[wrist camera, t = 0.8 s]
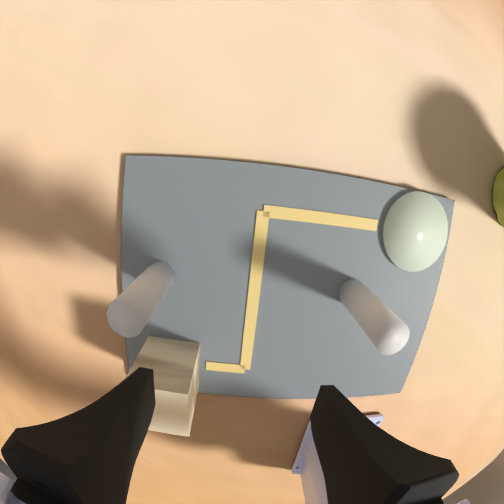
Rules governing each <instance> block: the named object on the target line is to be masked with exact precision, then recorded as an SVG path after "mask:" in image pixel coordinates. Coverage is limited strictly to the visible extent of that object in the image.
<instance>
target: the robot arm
mask: <svg viewBox="0 0 504 504" xmlns="http://www.w3.org/2000/svg"><path fill="white" fill-rule="evenodd" d="M155 404H156V401H155V388H154V373H153V369H149V368H144V367H139V368H138V369H136V370H135V371H134V372H133V373H132V374H130V375H129V376H128V377H127V378H126V379H125V380H123V381H122V382H121V383H120V384H119V385H117V386H116V387H115V388H113V389H112V390H111V391H110V392H108V393H107V394H105V395H104V396H102V397H101V398H100V399H98V400H97V401H95V402H93V403H92V404H90V405H88V406H87V407H85V408H83V409H81V410H79V411H77V412H75V413H73V414H70V415H68V416H65V417H63V418H60V419H57V420H54V421H51V422H48V423H44V424H40V425H35V426H30V427H23V428H16V429H15V431H14V432H13V433H12V434H11V436H10V437H9V438H8V440H7V441H6V443H5V444H4V446H3V447H2V449H1V452H2V456H3V458H4V460H5V461H6V463H7V464H8V466H9V467H10V468H11V470H12V471H13V473H14V474H15V475H16V477H17V480H16V482H15V483H14V482H13V481H12V480H11V479H9V478H8V477H7V476H5V475H4V474H2V473H0V504H126V499H127V494H128V489H129V485H130V480H131V476H132V472H133V468H134V464H135V461H136V458H137V456H138V453H139V451H140V448H141V446H142V443H143V441H144V438H145V436H146V433H147V431H148V428H149V426H150V423H151V420H152V416H153V412H154V408H155ZM383 419H384V416H383V414H374V415H364V414H363V413H362V412H360V411H359V410H358V409H357V408H356V407H355V406H354V405H353V404H352V403H351V402H350V401H349V400H348V399H347V398H346V397H345V396H344V395H343V394H342V393H341V392H340V391H339V390H338V389H337V388H336V387H335V386H334V385H321V386H320V389H319V392H318V395H317V398H316V401H315V404H314V407H313V410H312V413H311V416H310V421H309V422H308V425H307V428H306V431H305V434H304V437H303V440H302V442H301V445H300V448H299V451H298V453H297V456H296V459H295V462H294V464H293V467H292V469H291V473H292V474H300V475H301V481H302V486H303V492H304V497H305V503H306V504H443V501H442V499H441V497H442V496H443V495H444V494H445V493H446V492H447V491H448V490H449V489H450V488H451V487H452V486H453V485H454V484H455V482H456V481H457V479H458V477H459V473H458V471H457V470H456V468H455V466H454V465H453V463H452V462H451V460H448V459H445V458H441V457H437V456H434V455H431V454H428V453H425V452H423V451H420V450H418V449H415V448H413V447H411V446H409V445H407V444H405V443H403V442H401V441H399V440H398V439H396V438H394V437H393V436H391V435H390V434H388V433H387V432H385V431H384V430H382V429H381V428H379V427H380V425H381V423H382V421H383ZM457 504H470V502H469V500H468V499H465V500H463V501H461V502H459V503H457Z"/></svg>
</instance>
